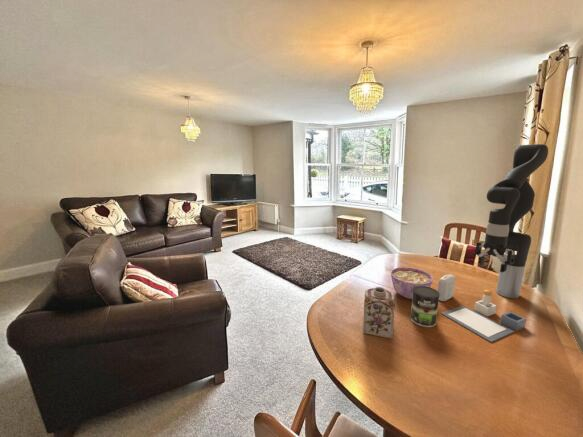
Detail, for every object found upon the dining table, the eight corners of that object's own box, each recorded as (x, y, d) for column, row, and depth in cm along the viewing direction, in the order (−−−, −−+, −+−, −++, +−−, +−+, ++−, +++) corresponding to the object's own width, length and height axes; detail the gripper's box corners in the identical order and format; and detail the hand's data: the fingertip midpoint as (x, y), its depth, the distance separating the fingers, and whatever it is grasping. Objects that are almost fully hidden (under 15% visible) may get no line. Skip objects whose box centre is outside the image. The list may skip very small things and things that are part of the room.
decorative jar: (391, 322, 112) (394, 284, 108) (393, 339, 101) (396, 298, 97) (363, 317, 116) (365, 281, 112) (362, 333, 105) (363, 294, 101)
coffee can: (438, 329, 106) (441, 299, 103) (411, 324, 110) (414, 295, 107) (434, 315, 116) (437, 287, 113) (409, 311, 119) (411, 284, 116)
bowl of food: (388, 301, 128) (390, 280, 126) (389, 283, 146) (390, 265, 144) (433, 308, 121) (435, 286, 118) (428, 289, 139) (430, 269, 137)
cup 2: (508, 319, 112) (509, 311, 111) (524, 327, 106) (526, 318, 105) (500, 323, 109) (501, 314, 109) (516, 331, 104) (517, 322, 103)
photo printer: (445, 293, 135) (448, 271, 132) (454, 296, 131) (457, 274, 129) (435, 299, 129) (437, 276, 127) (444, 302, 126) (447, 279, 123)
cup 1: (481, 307, 122) (483, 299, 121) (495, 313, 116) (496, 305, 115) (474, 309, 119) (475, 302, 119) (487, 316, 114) (488, 308, 113)
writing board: (463, 306, 122) (463, 305, 122) (514, 332, 104) (514, 330, 103) (441, 313, 117) (441, 312, 117) (491, 342, 98) (491, 341, 98)
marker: (483, 308, 120) (486, 289, 117) (490, 311, 117) (493, 291, 115) (479, 309, 118) (482, 290, 116) (486, 313, 116) (489, 293, 114)
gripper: (521, 236, 105) (515, 272, 108) (484, 228, 117) (480, 261, 121) (510, 238, 102) (504, 276, 105) (474, 230, 115) (469, 264, 118)
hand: (491, 268), depth 113 cm, fingers open, 8 cm apart
